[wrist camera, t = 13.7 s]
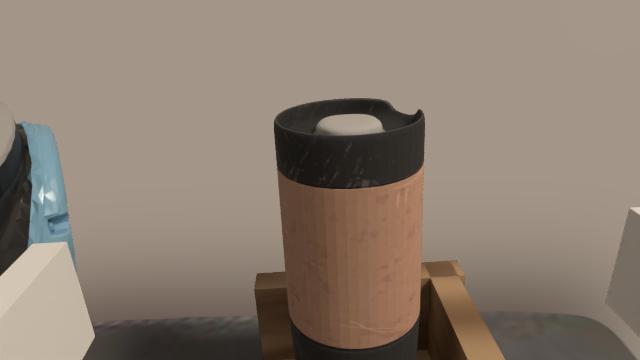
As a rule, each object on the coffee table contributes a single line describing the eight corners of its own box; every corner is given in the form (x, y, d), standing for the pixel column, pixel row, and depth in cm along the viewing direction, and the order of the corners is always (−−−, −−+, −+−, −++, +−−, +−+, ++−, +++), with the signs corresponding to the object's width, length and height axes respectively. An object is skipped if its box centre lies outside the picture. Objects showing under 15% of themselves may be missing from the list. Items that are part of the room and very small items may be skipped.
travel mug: (283, 453, 28) (247, 134, 20) (314, 360, 35) (296, 97, 27) (412, 478, 26) (424, 139, 19) (418, 375, 33) (429, 97, 25)
